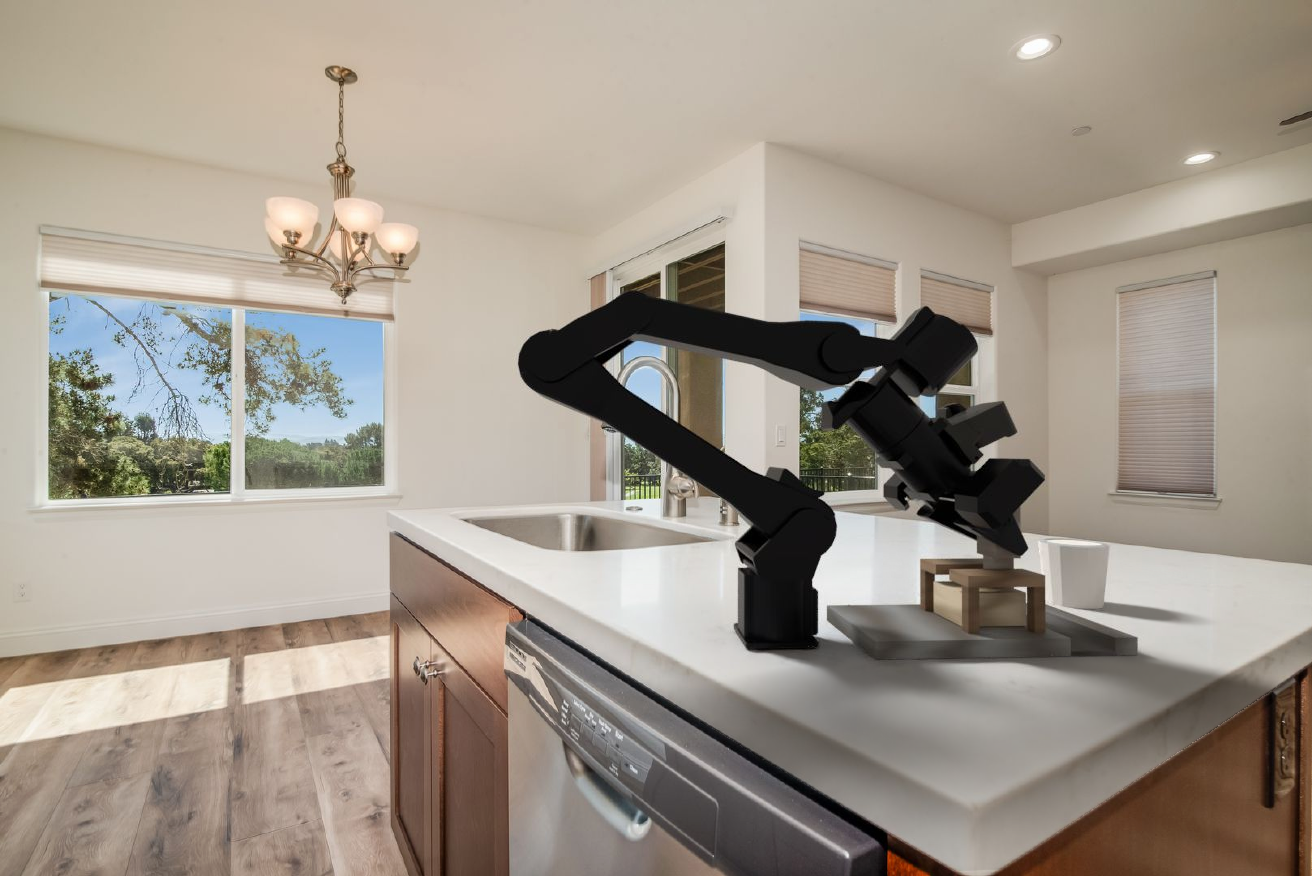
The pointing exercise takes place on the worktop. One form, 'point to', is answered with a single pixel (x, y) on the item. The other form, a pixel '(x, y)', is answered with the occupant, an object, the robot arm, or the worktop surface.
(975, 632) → the tunnel track
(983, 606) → the stacked block pedestal
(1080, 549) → the white cup
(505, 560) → the worktop surface
